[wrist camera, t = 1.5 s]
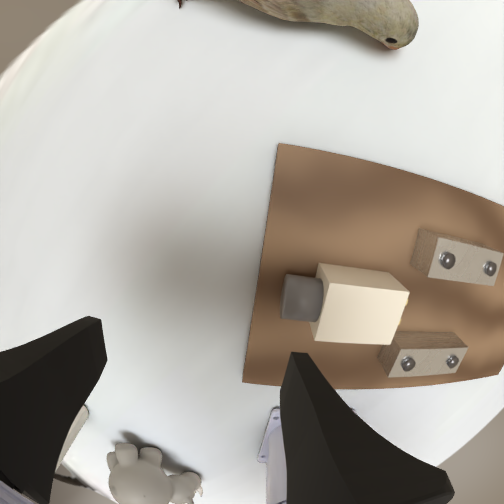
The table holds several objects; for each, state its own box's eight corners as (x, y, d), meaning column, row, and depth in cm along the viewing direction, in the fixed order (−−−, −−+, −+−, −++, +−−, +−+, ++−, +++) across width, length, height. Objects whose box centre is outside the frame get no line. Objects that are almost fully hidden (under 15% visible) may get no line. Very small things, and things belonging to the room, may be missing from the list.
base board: (493, 369, 22) (498, 374, 21) (242, 374, 21) (242, 382, 20) (546, 227, 17) (552, 230, 16) (277, 144, 16) (278, 143, 16)
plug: (277, 310, 19) (279, 337, 15) (287, 258, 17) (292, 277, 14) (383, 320, 19) (400, 344, 16) (398, 273, 18) (420, 293, 14)
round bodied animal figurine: (180, 465, 31) (191, 517, 24) (99, 450, 24) (102, 511, 17) (210, 451, 29) (224, 510, 22) (118, 435, 23) (124, 508, 16)
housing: (442, 356, 20) (456, 374, 17) (377, 357, 20) (389, 380, 17) (483, 244, 17) (506, 254, 14) (418, 228, 17) (441, 238, 14)
